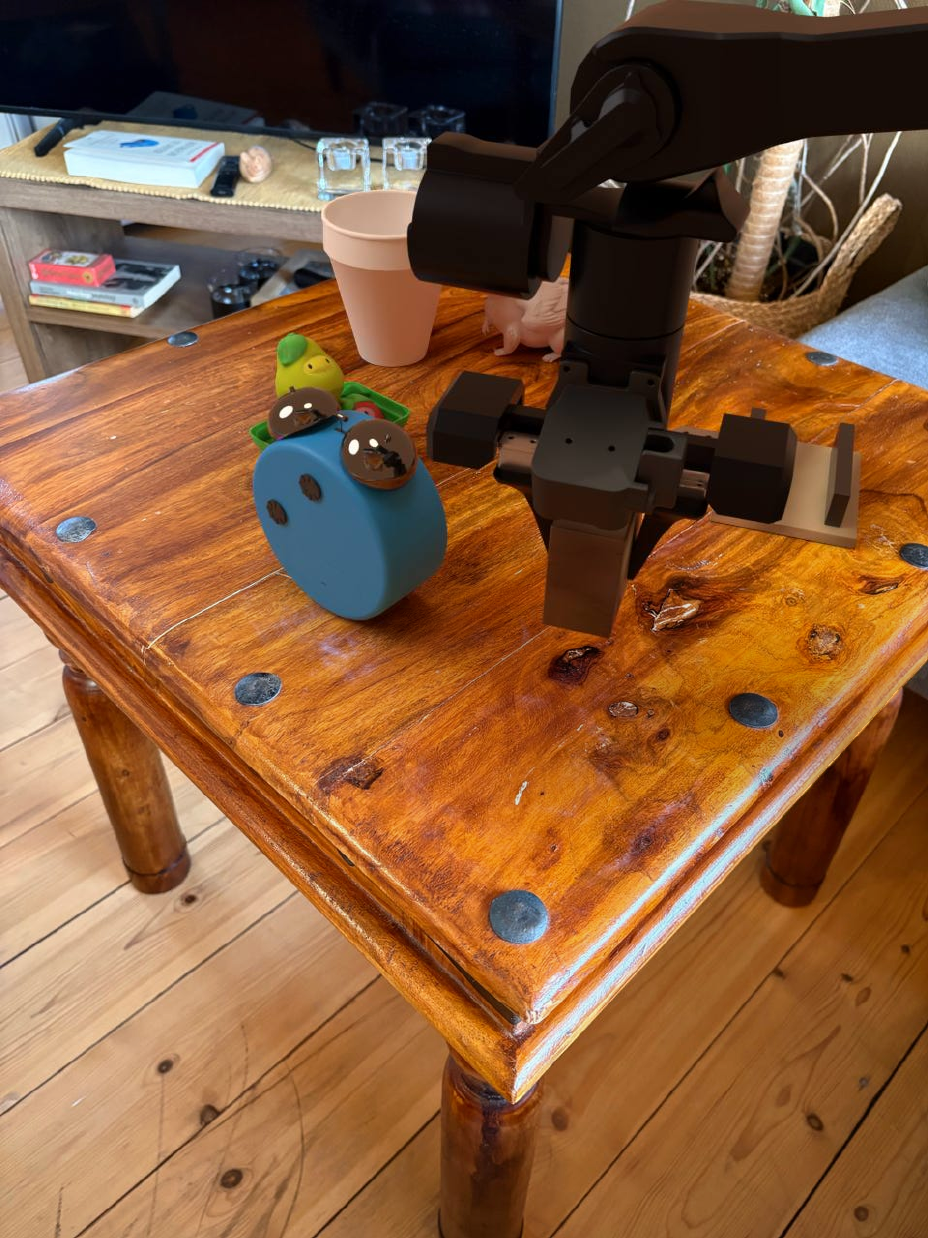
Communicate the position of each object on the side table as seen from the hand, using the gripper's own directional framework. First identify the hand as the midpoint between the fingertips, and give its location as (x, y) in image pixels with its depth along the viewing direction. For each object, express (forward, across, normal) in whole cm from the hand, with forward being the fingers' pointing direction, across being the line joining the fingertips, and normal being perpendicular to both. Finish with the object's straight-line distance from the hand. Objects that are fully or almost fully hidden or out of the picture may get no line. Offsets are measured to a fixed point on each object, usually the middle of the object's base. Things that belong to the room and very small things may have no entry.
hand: (593, 568), depth 58 cm
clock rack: (+10, +11, +28) cm, 32 cm away
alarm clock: (+10, -17, +4) cm, 20 cm away
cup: (+10, -28, +40) cm, 50 cm away
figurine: (+10, -14, +46) cm, 49 cm away
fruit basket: (+10, -25, +18) cm, 33 cm away
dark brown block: (+2, 0, 0) cm, 2 cm away
